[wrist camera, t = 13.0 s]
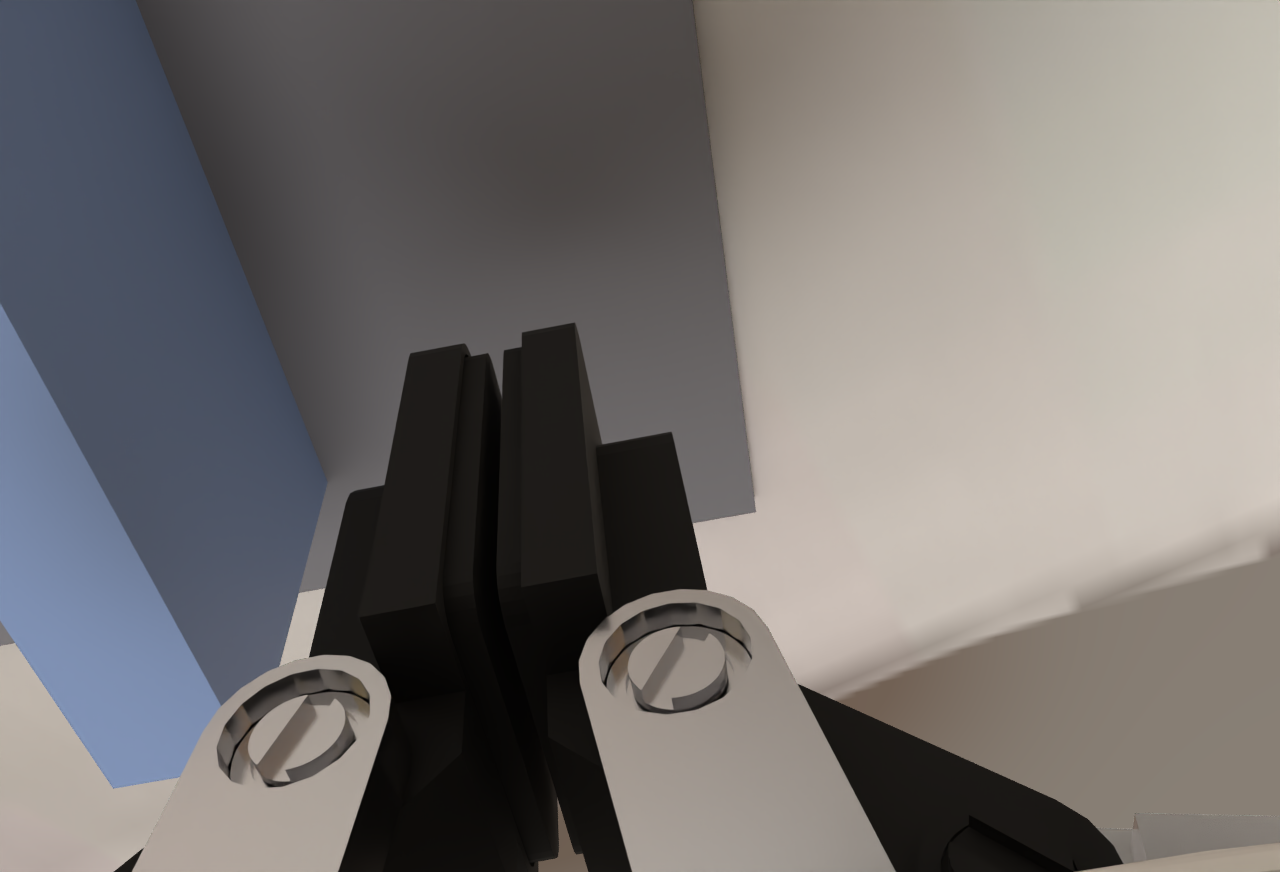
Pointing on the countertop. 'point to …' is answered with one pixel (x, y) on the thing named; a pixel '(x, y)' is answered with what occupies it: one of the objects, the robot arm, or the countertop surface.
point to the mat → (468, 210)
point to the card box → (133, 403)
